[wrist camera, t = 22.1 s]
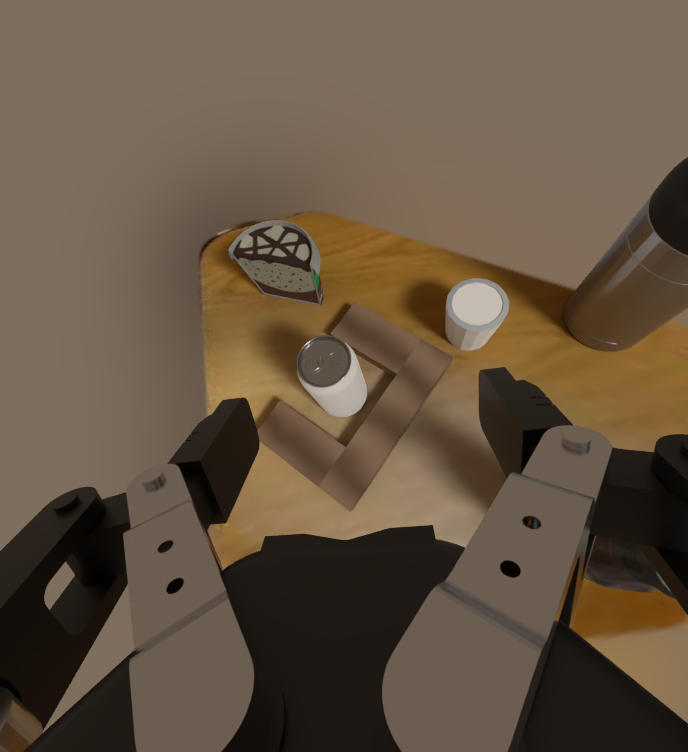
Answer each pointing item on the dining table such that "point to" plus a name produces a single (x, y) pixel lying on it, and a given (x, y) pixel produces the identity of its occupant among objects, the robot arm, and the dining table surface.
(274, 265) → the food container
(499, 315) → the white short cylinder
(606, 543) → the sauce bottle
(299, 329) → the dining table surface
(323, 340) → the can
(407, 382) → the notched board
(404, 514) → the dining table surface
